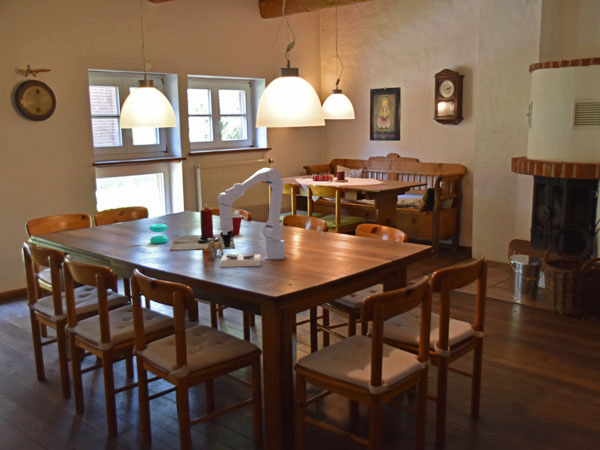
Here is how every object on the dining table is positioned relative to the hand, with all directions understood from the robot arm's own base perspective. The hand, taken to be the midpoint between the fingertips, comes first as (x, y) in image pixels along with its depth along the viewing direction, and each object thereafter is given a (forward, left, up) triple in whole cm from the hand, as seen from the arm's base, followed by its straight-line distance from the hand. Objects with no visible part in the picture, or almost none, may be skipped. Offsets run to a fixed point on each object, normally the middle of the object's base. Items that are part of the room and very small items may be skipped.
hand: (227, 247), depth 265 cm
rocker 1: (-2, 0, -5) cm, 5 cm away
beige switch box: (-6, -2, -9) cm, 11 cm away
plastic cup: (+4, -76, -9) cm, 77 cm away
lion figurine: (+8, -17, -9) cm, 21 cm away
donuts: (+45, -57, -9) cm, 73 cm away
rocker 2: (-10, 0, -5) cm, 11 cm away
